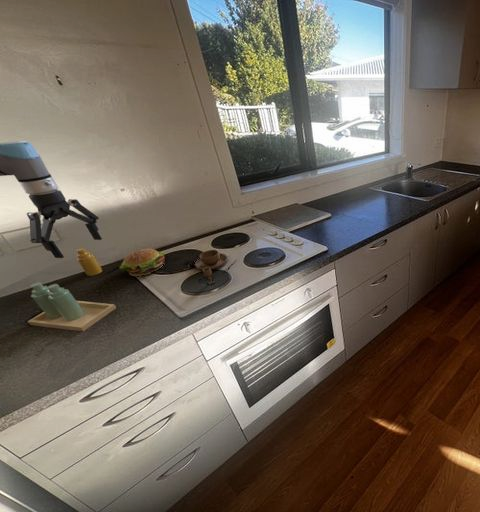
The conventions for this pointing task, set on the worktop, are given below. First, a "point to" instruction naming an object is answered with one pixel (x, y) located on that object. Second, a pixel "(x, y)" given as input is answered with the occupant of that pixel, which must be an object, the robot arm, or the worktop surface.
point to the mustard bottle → (88, 263)
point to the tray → (91, 316)
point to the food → (142, 262)
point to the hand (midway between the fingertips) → (80, 248)
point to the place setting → (211, 262)
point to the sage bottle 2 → (64, 303)
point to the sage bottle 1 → (44, 300)
